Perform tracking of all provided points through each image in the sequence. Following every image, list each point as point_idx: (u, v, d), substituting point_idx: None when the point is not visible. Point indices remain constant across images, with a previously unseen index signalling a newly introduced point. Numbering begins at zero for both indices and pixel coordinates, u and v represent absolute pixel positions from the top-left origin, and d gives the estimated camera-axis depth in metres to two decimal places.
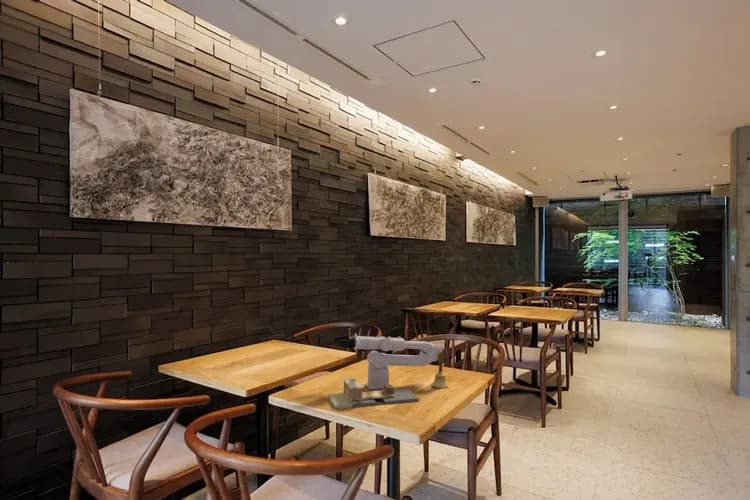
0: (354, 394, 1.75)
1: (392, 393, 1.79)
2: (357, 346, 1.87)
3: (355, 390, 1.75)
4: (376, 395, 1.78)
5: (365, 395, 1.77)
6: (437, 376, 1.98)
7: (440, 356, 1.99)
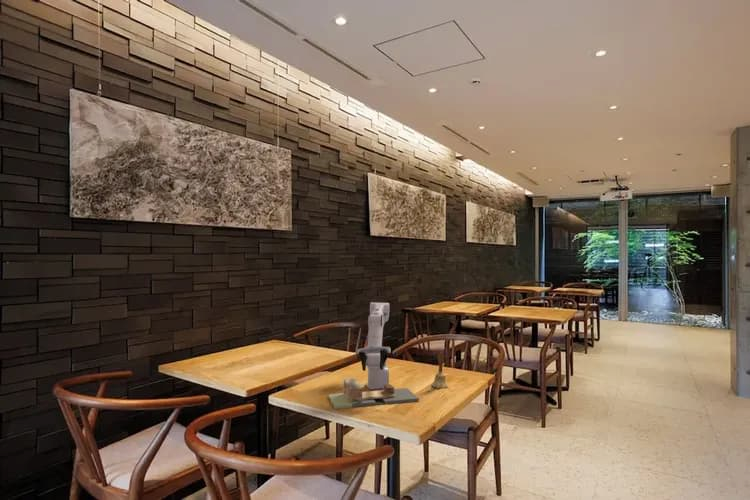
0: (354, 394, 1.75)
1: (392, 393, 1.79)
2: (390, 350, 1.80)
3: (355, 390, 1.75)
4: (376, 395, 1.78)
5: (365, 395, 1.77)
6: (437, 376, 1.98)
7: (440, 356, 1.99)
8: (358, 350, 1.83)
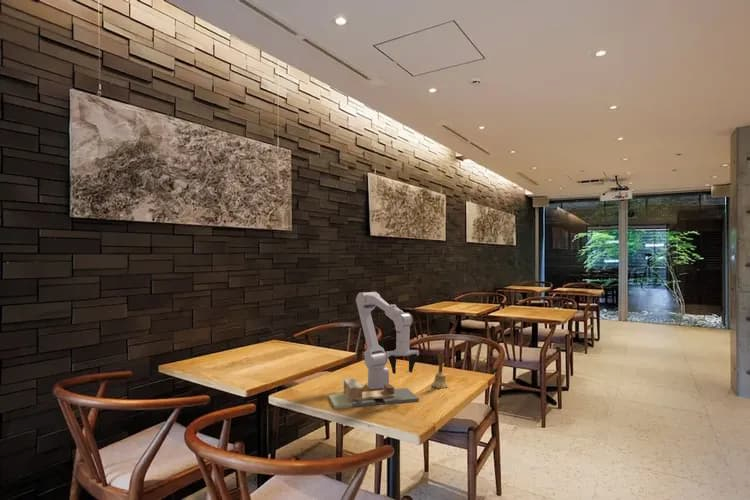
0: (354, 394, 1.75)
1: (392, 393, 1.79)
2: None
3: (355, 390, 1.75)
4: (376, 395, 1.78)
5: (365, 395, 1.77)
6: (437, 376, 1.98)
7: (440, 356, 1.99)
8: (388, 354, 1.81)
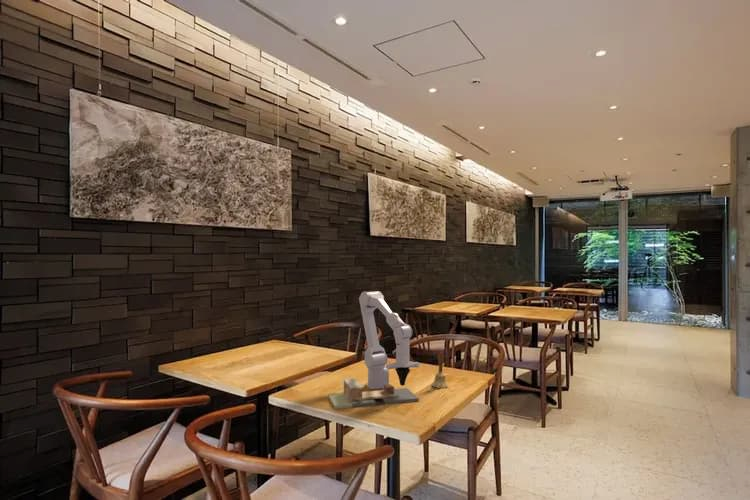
0: (354, 394, 1.75)
1: (392, 393, 1.79)
2: None
3: (355, 390, 1.75)
4: (376, 395, 1.78)
5: (365, 395, 1.77)
6: (437, 376, 1.98)
7: (440, 356, 1.99)
8: (388, 366, 1.81)
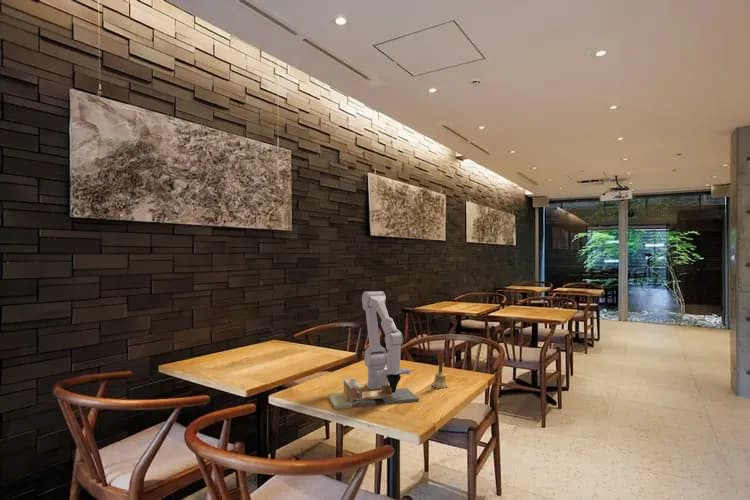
0: None
1: (390, 393, 1.79)
2: None
3: (353, 390, 1.75)
4: (374, 395, 1.77)
5: (363, 395, 1.77)
6: (437, 376, 1.98)
7: (440, 356, 1.99)
8: (379, 373, 1.79)
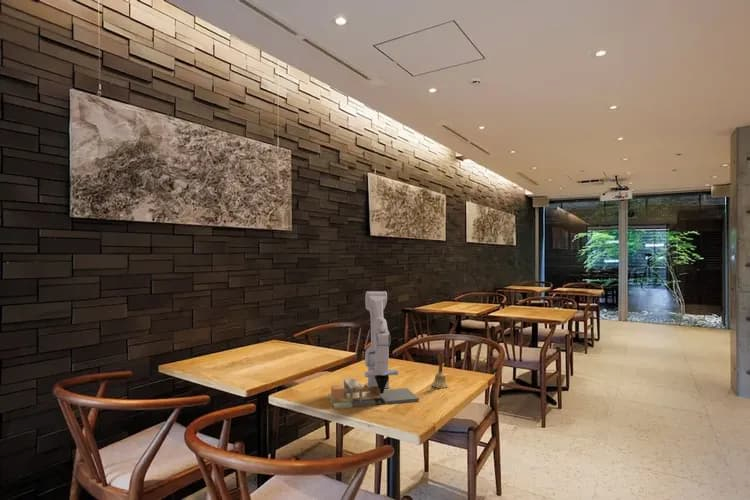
0: (339, 395, 1.73)
1: (378, 394, 1.78)
2: None
3: (340, 391, 1.73)
4: None
5: None
6: (437, 376, 1.98)
7: (440, 356, 1.99)
8: (367, 374, 1.78)
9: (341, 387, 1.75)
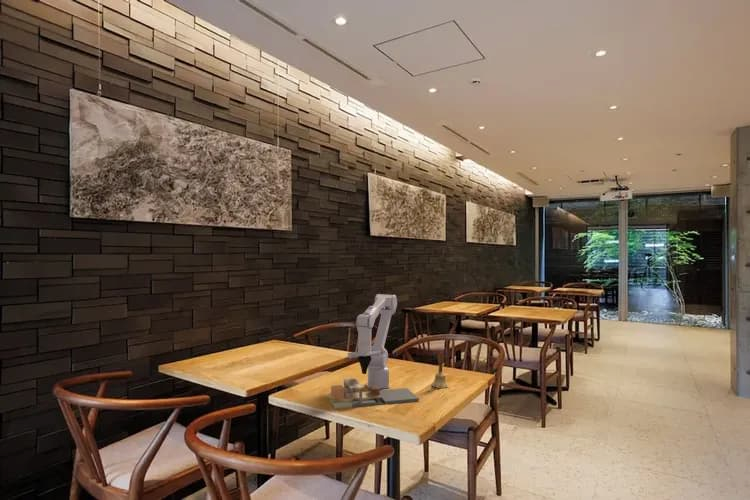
0: (339, 395, 1.73)
1: (378, 394, 1.78)
2: None
3: (340, 391, 1.73)
4: None
5: None
6: (437, 376, 1.98)
7: (440, 356, 1.99)
8: (350, 355, 1.82)
9: (341, 387, 1.75)
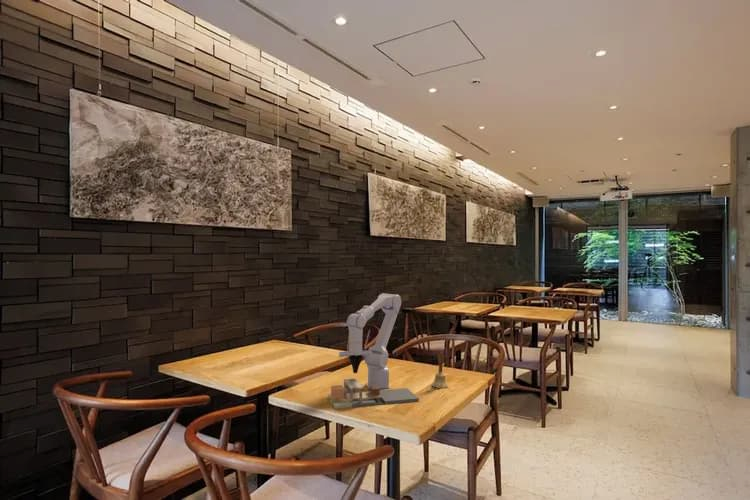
0: (339, 395, 1.73)
1: (378, 394, 1.78)
2: None
3: (340, 391, 1.73)
4: None
5: None
6: (437, 376, 1.98)
7: (440, 356, 1.99)
8: (341, 354, 1.83)
9: (341, 387, 1.75)
